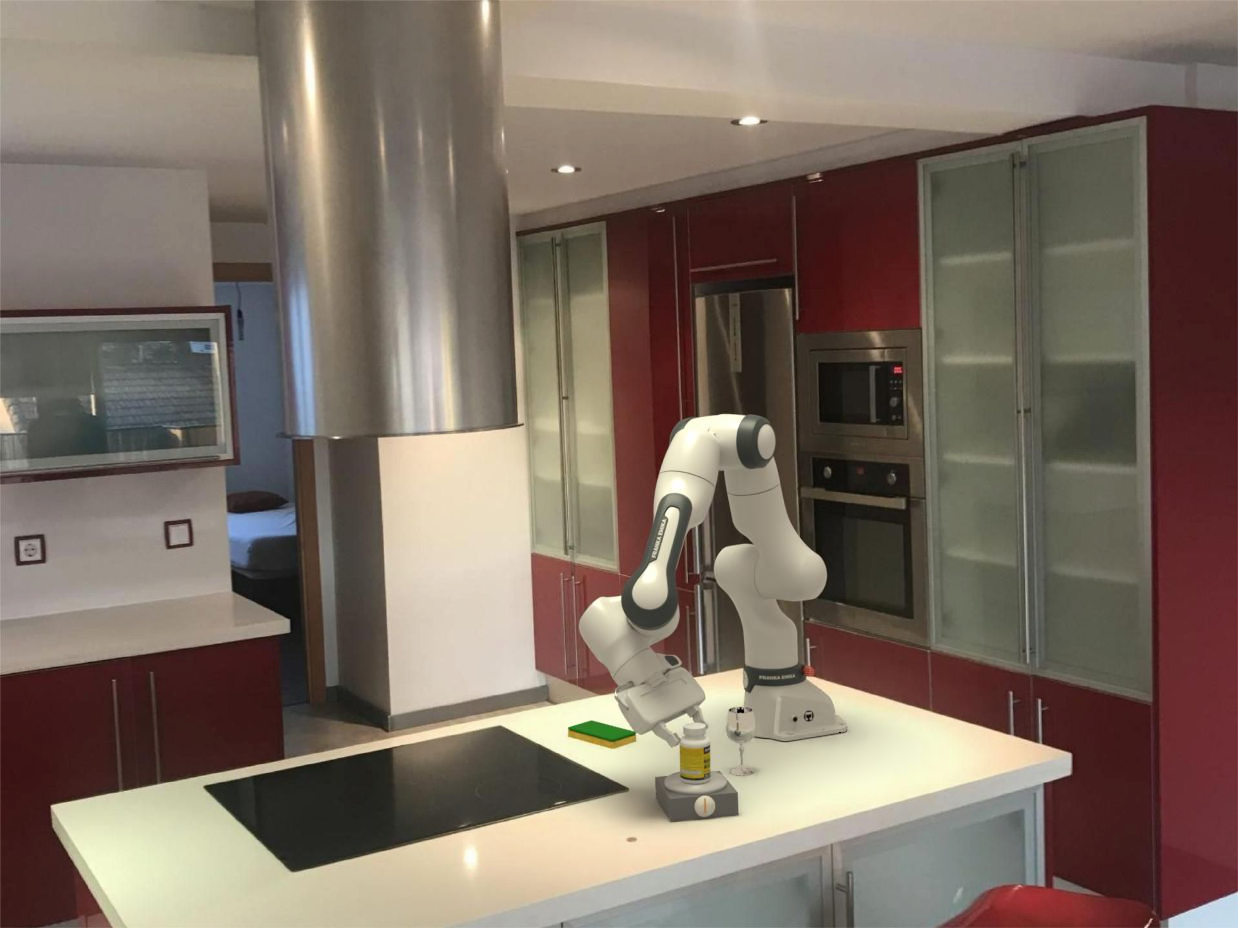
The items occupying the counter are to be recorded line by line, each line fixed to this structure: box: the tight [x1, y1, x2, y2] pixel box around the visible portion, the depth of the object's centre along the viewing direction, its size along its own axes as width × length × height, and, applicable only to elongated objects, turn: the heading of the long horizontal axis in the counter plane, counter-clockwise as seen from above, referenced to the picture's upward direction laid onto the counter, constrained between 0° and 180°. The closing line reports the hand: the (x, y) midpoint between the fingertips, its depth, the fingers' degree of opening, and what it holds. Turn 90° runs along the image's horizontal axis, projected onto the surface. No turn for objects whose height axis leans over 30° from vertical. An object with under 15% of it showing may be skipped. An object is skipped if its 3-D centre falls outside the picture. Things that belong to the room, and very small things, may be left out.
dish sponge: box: [567, 720, 637, 750], centre depth 271 cm, size 7×14×2 cm, turn 44°
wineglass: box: [725, 706, 756, 776], centre depth 246 cm, size 6×6×12 cm
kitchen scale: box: [654, 770, 739, 823], centre depth 228 cm, size 12×13×5 cm
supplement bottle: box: [679, 722, 712, 784], centre depth 228 cm, size 5×5×10 cm
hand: (691, 737), depth 228 cm, fingers open, 8 cm apart
